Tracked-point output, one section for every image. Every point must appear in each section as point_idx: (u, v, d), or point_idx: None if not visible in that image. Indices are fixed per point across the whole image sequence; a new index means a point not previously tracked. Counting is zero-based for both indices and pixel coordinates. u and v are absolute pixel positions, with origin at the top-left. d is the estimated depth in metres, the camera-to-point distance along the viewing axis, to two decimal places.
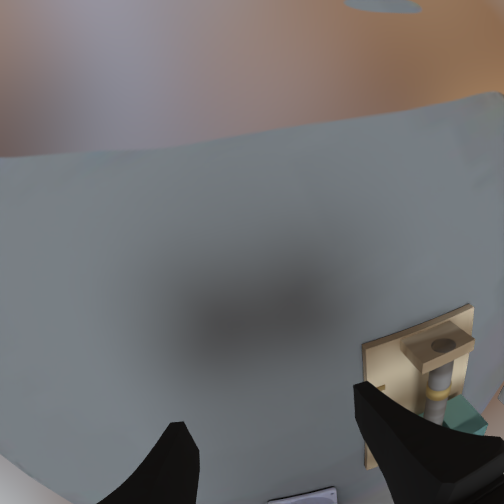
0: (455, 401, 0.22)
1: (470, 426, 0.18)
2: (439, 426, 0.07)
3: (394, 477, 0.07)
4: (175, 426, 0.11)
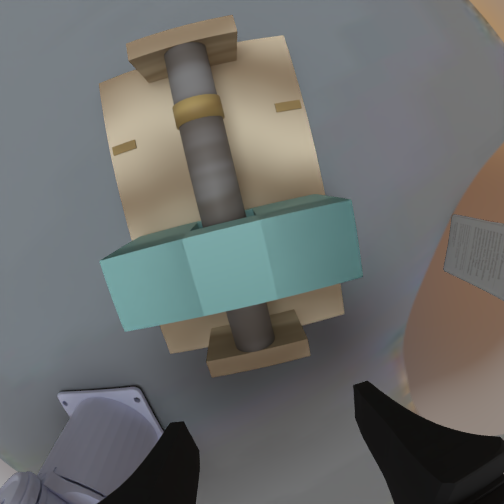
0: (297, 198, 0.15)
1: (304, 206, 0.12)
2: (439, 426, 0.07)
3: (394, 477, 0.07)
4: (174, 426, 0.11)
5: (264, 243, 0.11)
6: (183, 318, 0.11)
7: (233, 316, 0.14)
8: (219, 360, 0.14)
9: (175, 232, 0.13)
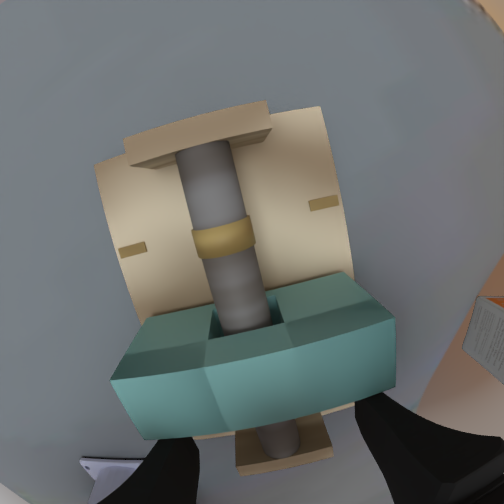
0: (325, 281, 0.14)
1: (341, 320, 0.10)
2: (439, 426, 0.07)
3: (394, 477, 0.07)
4: None
5: (296, 369, 0.09)
6: (206, 432, 0.10)
7: (263, 435, 0.13)
8: (248, 465, 0.13)
9: (190, 333, 0.12)
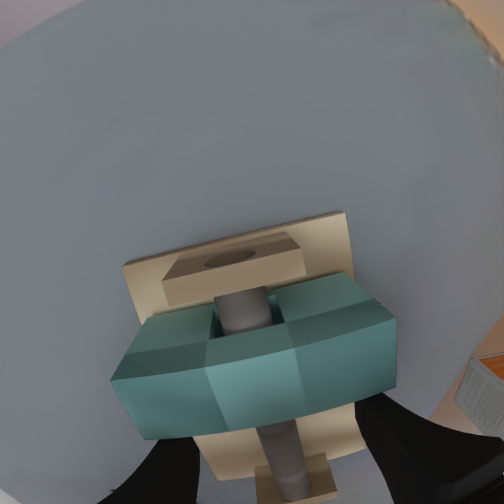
0: (325, 281, 0.14)
1: (342, 320, 0.10)
2: (439, 426, 0.07)
3: (394, 477, 0.07)
4: None
5: (297, 369, 0.09)
6: (207, 432, 0.10)
7: (281, 486, 0.14)
8: None
9: (191, 333, 0.12)
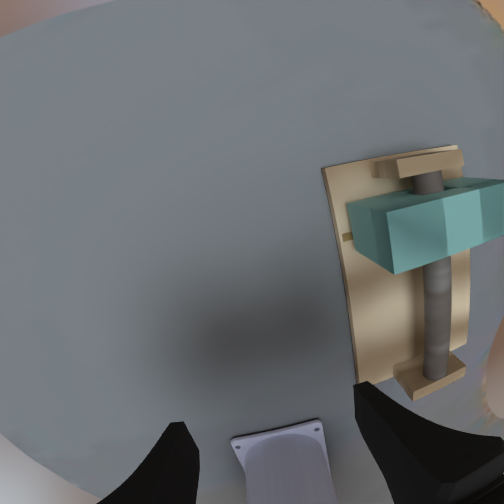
0: (456, 179, 0.17)
1: (487, 183, 0.14)
2: (439, 426, 0.07)
3: (394, 477, 0.07)
4: (174, 426, 0.11)
5: (480, 204, 0.13)
6: (435, 259, 0.13)
7: (434, 360, 0.18)
8: (421, 388, 0.18)
9: (404, 197, 0.15)
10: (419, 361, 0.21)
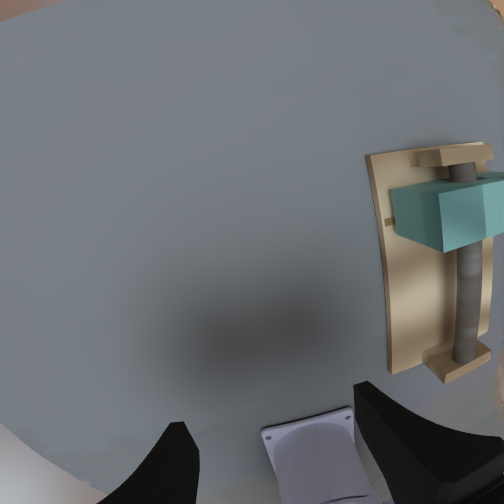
0: (483, 172, 0.17)
1: None
2: (439, 426, 0.07)
3: (394, 477, 0.07)
4: (174, 426, 0.11)
5: None
6: (476, 240, 0.13)
7: (465, 343, 0.18)
8: (452, 371, 0.18)
9: (445, 184, 0.15)
10: (447, 347, 0.21)
